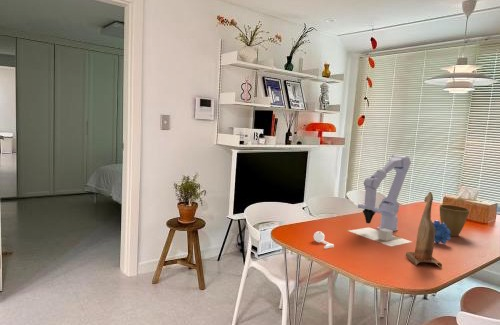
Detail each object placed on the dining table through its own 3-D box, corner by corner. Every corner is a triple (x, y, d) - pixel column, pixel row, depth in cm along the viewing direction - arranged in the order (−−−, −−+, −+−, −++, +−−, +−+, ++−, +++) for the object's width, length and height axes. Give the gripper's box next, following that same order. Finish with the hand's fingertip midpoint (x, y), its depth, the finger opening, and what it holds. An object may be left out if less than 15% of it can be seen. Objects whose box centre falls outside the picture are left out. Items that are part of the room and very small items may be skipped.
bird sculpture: (428, 258, 161) (435, 189, 158) (442, 268, 150) (451, 194, 147) (404, 257, 161) (411, 188, 158) (417, 267, 149) (425, 193, 146)
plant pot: (433, 233, 202) (436, 206, 201) (440, 229, 213) (443, 203, 212) (462, 240, 192) (466, 212, 191) (468, 235, 203) (472, 208, 202)
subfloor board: (368, 228, 208) (368, 227, 208) (412, 242, 184) (412, 241, 184) (347, 231, 198) (347, 230, 198) (390, 247, 175) (390, 246, 175)
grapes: (424, 242, 185) (426, 220, 183) (425, 239, 190) (428, 217, 189) (449, 247, 178) (452, 224, 177) (450, 244, 184) (452, 222, 183)
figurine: (319, 229, 179) (337, 237, 170) (318, 239, 180) (336, 247, 170) (308, 231, 174) (326, 239, 165) (307, 241, 175) (325, 250, 166)
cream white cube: (385, 241, 183) (386, 231, 182) (378, 238, 187) (378, 229, 186) (392, 239, 185) (392, 230, 185) (384, 237, 190) (384, 228, 189)
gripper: (355, 197, 200) (353, 220, 201) (376, 202, 188) (374, 227, 189) (363, 196, 204) (361, 219, 205) (384, 201, 192) (382, 225, 193)
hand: (368, 223), depth 197 cm, fingers closed
